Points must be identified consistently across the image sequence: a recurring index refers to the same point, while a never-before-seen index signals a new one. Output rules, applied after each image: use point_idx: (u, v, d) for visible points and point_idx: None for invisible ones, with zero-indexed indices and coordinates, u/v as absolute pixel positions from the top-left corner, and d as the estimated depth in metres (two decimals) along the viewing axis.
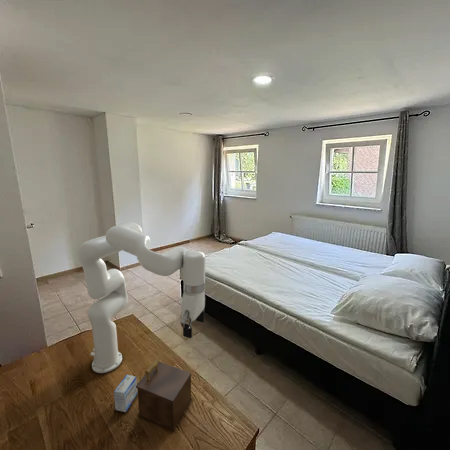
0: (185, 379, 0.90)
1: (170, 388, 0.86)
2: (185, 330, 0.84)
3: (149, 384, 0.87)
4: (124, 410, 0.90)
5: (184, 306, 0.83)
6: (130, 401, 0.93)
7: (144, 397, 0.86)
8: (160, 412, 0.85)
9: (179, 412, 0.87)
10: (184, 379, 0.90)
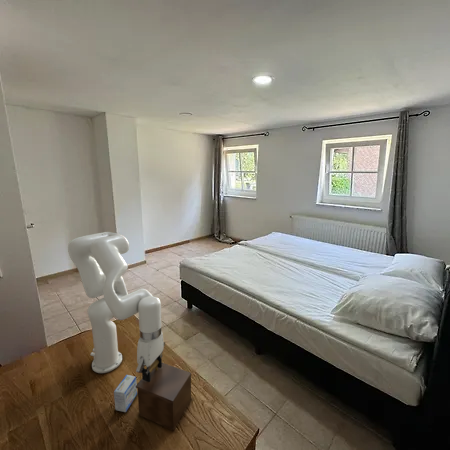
0: (185, 379, 0.90)
1: (170, 388, 0.86)
2: (143, 374, 0.87)
3: (149, 384, 0.87)
4: (124, 410, 0.90)
5: (139, 352, 0.85)
6: (130, 401, 0.93)
7: (144, 397, 0.86)
8: (160, 412, 0.85)
9: (179, 412, 0.87)
10: (184, 379, 0.90)
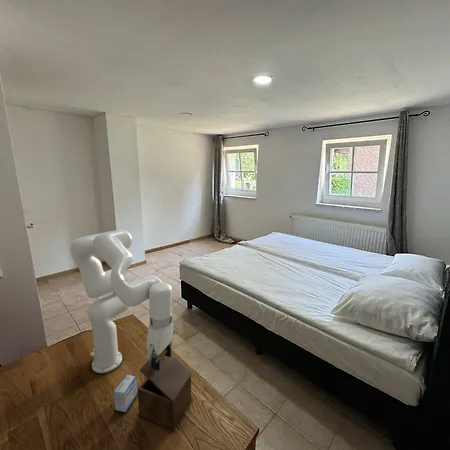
0: (186, 379, 0.90)
1: (172, 385, 0.86)
2: (152, 363, 0.84)
3: (153, 373, 0.85)
4: (124, 410, 0.90)
5: (149, 340, 0.82)
6: (130, 401, 0.93)
7: (144, 397, 0.86)
8: (160, 412, 0.85)
9: (179, 412, 0.87)
10: (184, 378, 0.90)
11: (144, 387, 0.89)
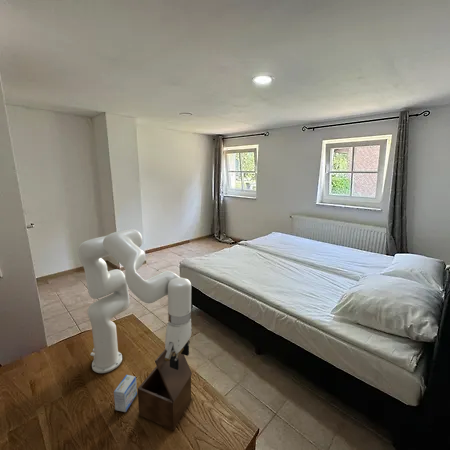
0: (187, 379, 0.90)
1: (176, 384, 0.85)
2: (171, 362, 0.81)
3: (165, 367, 0.83)
4: (124, 410, 0.90)
5: (168, 337, 0.78)
6: (130, 401, 0.93)
7: (144, 397, 0.86)
8: (160, 412, 0.85)
9: (179, 412, 0.87)
10: (186, 378, 0.90)
11: (144, 387, 0.89)
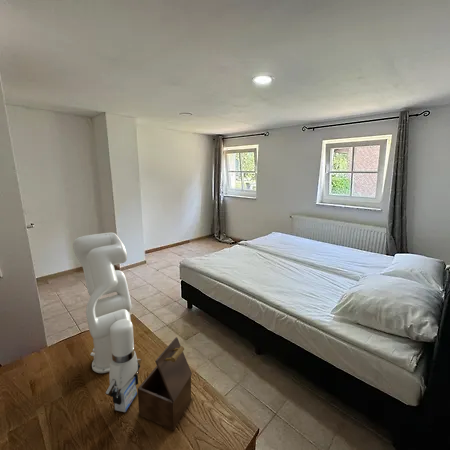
0: (187, 379, 0.90)
1: (176, 384, 0.85)
2: (113, 397, 0.87)
3: (165, 367, 0.83)
4: (124, 410, 0.90)
5: (111, 375, 0.86)
6: (129, 401, 0.93)
7: (144, 397, 0.86)
8: (160, 412, 0.85)
9: (179, 412, 0.87)
10: (186, 378, 0.90)
11: (144, 387, 0.89)
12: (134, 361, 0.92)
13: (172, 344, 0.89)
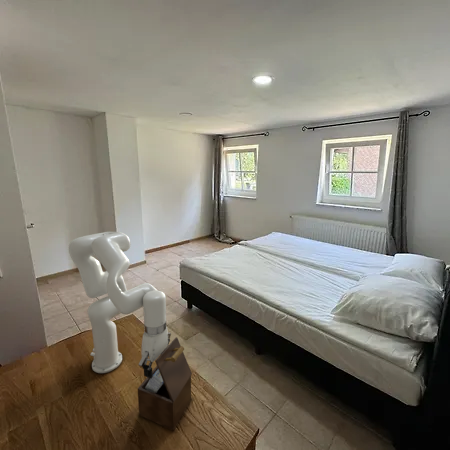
0: (187, 379, 0.90)
1: (176, 384, 0.85)
2: (145, 371, 0.84)
3: (165, 367, 0.83)
4: None
5: (144, 347, 0.83)
6: None
7: (144, 397, 0.86)
8: (160, 412, 0.85)
9: (179, 412, 0.87)
10: (186, 378, 0.90)
11: (144, 387, 0.89)
12: (165, 334, 0.89)
13: (172, 344, 0.89)
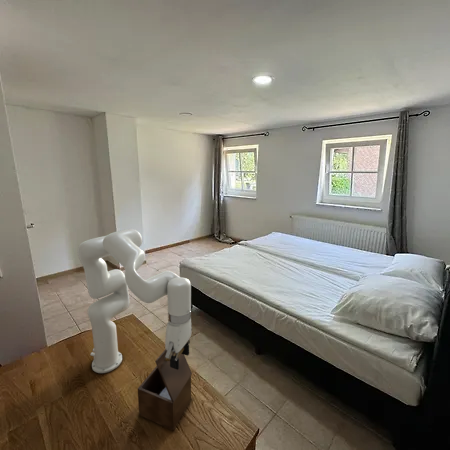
0: (187, 379, 0.90)
1: (176, 384, 0.85)
2: (171, 361, 0.81)
3: (165, 367, 0.83)
4: None
5: (168, 337, 0.78)
6: None
7: (144, 397, 0.86)
8: (160, 412, 0.85)
9: (179, 412, 0.87)
10: (186, 378, 0.90)
11: (144, 387, 0.89)
12: (189, 324, 0.84)
13: None
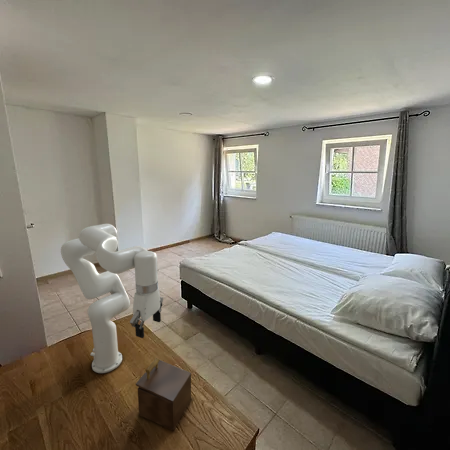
0: (185, 379, 0.90)
1: (170, 388, 0.86)
2: (136, 330, 0.84)
3: (149, 383, 0.87)
4: None
5: (135, 306, 0.84)
6: None
7: (144, 397, 0.86)
8: (160, 412, 0.85)
9: (179, 412, 0.87)
10: (184, 379, 0.90)
11: None
12: (157, 296, 0.89)
13: None
